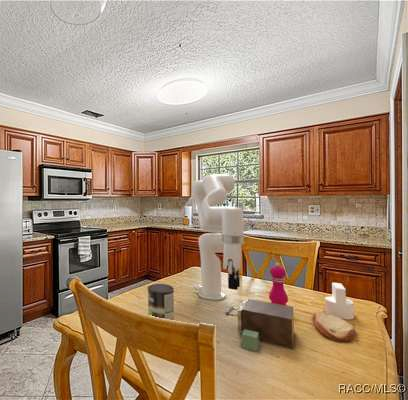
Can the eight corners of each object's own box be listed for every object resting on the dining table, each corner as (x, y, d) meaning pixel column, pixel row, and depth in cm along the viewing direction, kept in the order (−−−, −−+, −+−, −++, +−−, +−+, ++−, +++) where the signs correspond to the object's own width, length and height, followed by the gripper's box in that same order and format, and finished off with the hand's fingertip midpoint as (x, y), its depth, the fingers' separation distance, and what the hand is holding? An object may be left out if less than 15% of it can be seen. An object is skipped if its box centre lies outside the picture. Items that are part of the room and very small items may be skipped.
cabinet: (242, 336, 96) (242, 309, 97) (248, 323, 107) (248, 298, 107) (292, 349, 88) (291, 319, 88) (293, 333, 98) (293, 306, 98)
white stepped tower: (356, 321, 106) (355, 290, 107) (327, 316, 111) (326, 287, 111) (350, 312, 114) (350, 284, 114) (323, 308, 119) (323, 281, 119)
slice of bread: (320, 315, 113) (320, 305, 113) (375, 334, 96) (374, 324, 96) (289, 322, 107) (288, 312, 107) (340, 344, 90) (340, 333, 90)
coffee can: (152, 329, 103) (151, 292, 103) (145, 318, 113) (145, 284, 114) (178, 328, 104) (177, 291, 104) (170, 316, 114) (169, 283, 114)
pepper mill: (291, 311, 117) (290, 265, 117) (272, 310, 118) (271, 264, 118) (284, 305, 124) (282, 261, 124) (266, 304, 125) (265, 261, 125)
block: (242, 347, 89) (241, 334, 90) (244, 341, 93) (244, 328, 93) (257, 351, 87) (256, 337, 87) (259, 345, 90) (258, 332, 90)
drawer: (224, 328, 101) (223, 307, 101) (230, 317, 110) (230, 298, 110) (282, 342, 90) (281, 319, 90) (284, 329, 99) (283, 308, 99)
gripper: (227, 236, 113) (228, 280, 113) (216, 241, 100) (218, 292, 100) (247, 237, 108) (248, 283, 108) (239, 243, 95) (240, 295, 95)
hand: (234, 287), depth 104 cm, fingers open, 3 cm apart
